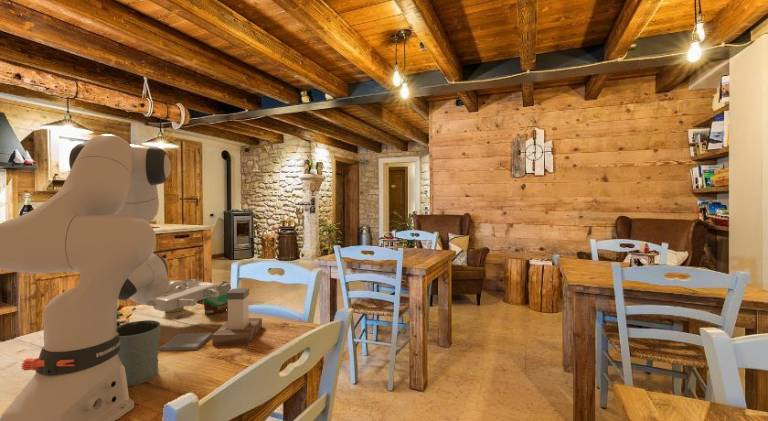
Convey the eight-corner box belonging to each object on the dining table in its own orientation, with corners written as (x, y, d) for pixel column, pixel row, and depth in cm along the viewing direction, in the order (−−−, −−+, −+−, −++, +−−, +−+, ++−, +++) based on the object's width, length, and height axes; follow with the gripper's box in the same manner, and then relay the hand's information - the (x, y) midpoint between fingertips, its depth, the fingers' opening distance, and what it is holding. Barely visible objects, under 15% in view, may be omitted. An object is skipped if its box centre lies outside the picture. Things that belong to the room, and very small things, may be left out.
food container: (217, 317, 127) (216, 289, 127) (202, 316, 129) (201, 288, 128) (238, 307, 139) (237, 281, 139) (224, 306, 141) (223, 280, 140)
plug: (244, 338, 108) (243, 292, 108) (227, 339, 108) (226, 292, 108) (249, 332, 113) (249, 288, 113) (233, 332, 113) (232, 288, 112)
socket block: (247, 344, 104) (247, 334, 104) (212, 345, 103) (212, 334, 103) (261, 327, 118) (261, 318, 118) (230, 327, 117) (230, 318, 117)
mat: (196, 349, 100) (196, 346, 100) (159, 350, 100) (159, 347, 100) (212, 336, 110) (212, 332, 110) (178, 336, 110) (178, 333, 110)
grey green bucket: (152, 363, 92) (151, 317, 92) (168, 376, 86) (167, 326, 85) (103, 379, 84) (102, 328, 84) (117, 394, 78) (115, 339, 77)
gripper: (142, 293, 108) (178, 297, 104) (196, 278, 128) (228, 281, 124) (143, 314, 109) (179, 319, 104) (196, 295, 128) (229, 299, 124)
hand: (206, 298), depth 114 cm, fingers open, 8 cm apart
